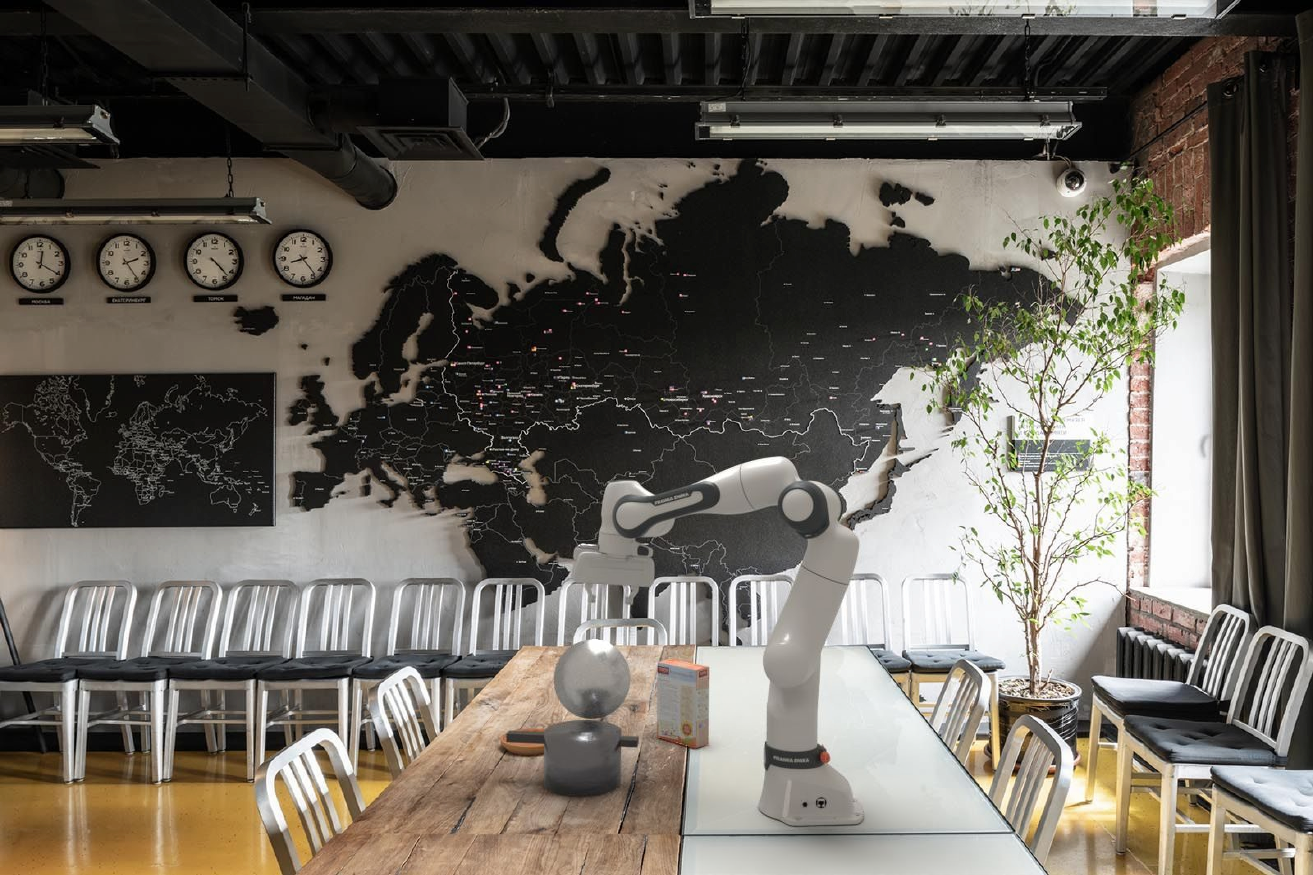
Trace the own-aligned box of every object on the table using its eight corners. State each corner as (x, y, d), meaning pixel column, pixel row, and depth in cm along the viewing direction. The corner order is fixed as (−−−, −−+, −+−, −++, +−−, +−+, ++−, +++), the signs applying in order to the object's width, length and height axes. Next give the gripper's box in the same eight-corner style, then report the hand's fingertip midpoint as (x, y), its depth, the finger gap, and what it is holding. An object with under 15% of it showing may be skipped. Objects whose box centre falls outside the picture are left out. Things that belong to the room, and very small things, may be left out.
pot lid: (628, 720, 227) (630, 719, 230) (631, 640, 230) (632, 640, 233) (551, 717, 228) (554, 716, 232) (555, 638, 232) (558, 638, 235)
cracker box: (709, 745, 247) (710, 665, 247) (695, 750, 243) (695, 669, 243) (670, 733, 257) (671, 657, 257) (655, 738, 252) (656, 660, 252)
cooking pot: (642, 772, 226) (642, 722, 226) (632, 799, 208) (633, 745, 208) (516, 766, 229) (517, 717, 229) (496, 792, 211) (497, 739, 211)
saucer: (536, 735, 255) (537, 724, 255) (574, 748, 243) (574, 737, 244) (487, 747, 244) (488, 736, 244) (524, 762, 232) (524, 750, 232)
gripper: (578, 544, 219) (571, 603, 218) (659, 550, 226) (653, 607, 225) (571, 541, 225) (565, 599, 224) (650, 547, 232) (645, 603, 231)
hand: (610, 603), depth 225 cm, fingers open, 8 cm apart
